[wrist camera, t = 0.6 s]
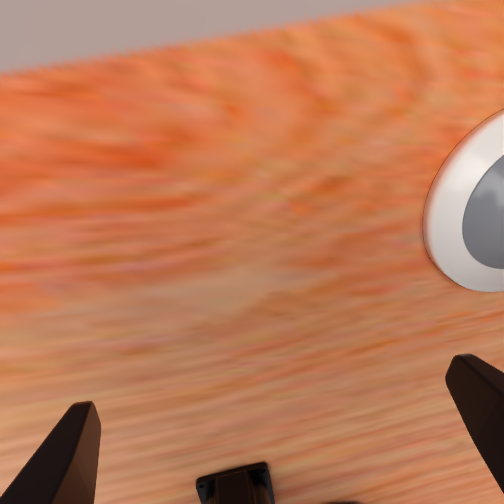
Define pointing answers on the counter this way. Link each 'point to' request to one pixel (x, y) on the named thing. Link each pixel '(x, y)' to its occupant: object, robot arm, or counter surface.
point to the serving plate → (470, 210)
